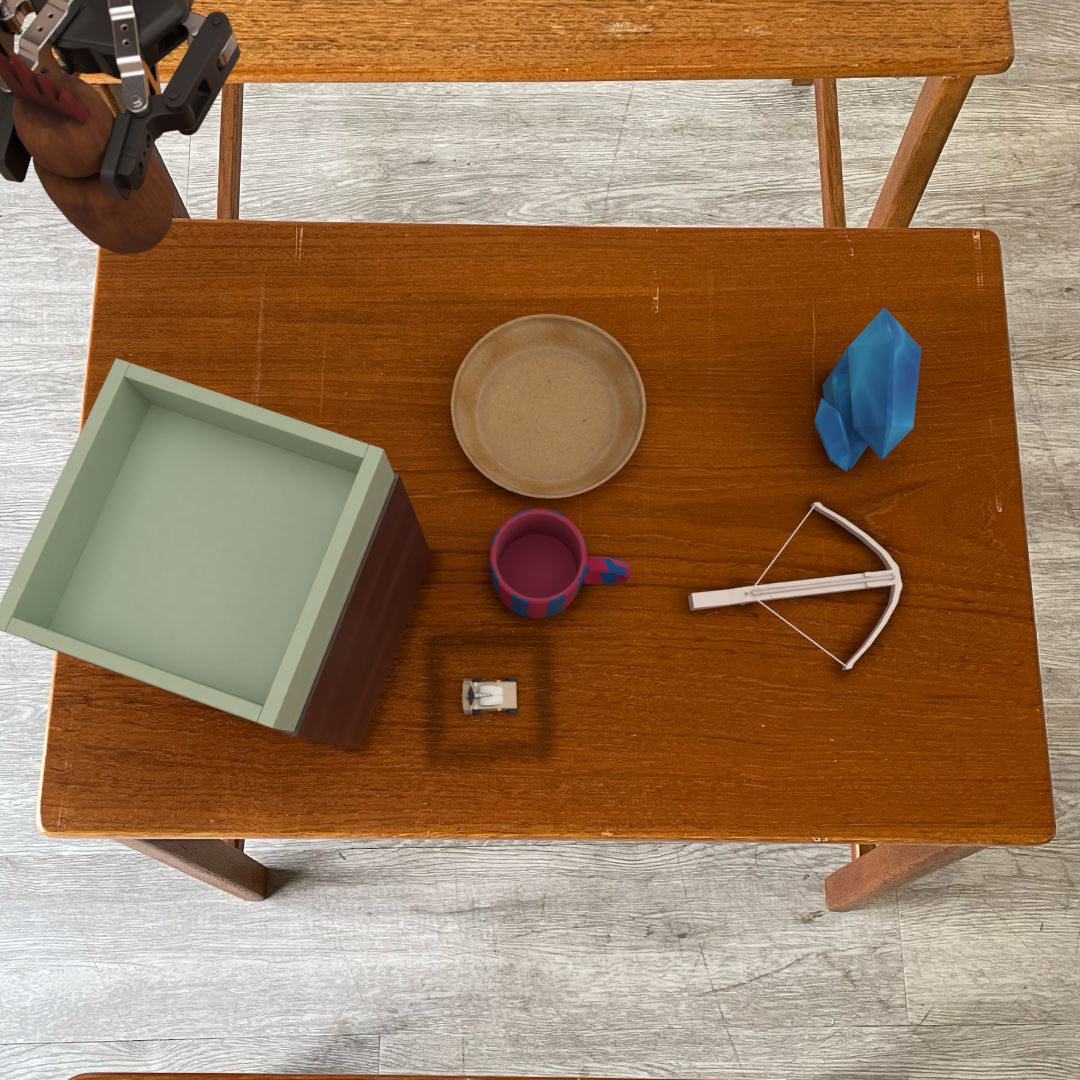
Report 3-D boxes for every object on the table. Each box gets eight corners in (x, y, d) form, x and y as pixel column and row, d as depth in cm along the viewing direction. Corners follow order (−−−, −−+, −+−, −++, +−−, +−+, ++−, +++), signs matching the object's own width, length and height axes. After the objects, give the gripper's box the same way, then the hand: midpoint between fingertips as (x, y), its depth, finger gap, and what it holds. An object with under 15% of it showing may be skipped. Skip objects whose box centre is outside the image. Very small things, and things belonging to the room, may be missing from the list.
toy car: (517, 714, 76) (517, 712, 74) (462, 715, 76) (460, 714, 74) (516, 678, 76) (516, 675, 74) (461, 679, 76) (460, 677, 74)
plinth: (167, 679, 76) (29, 641, 54) (247, 492, 79) (146, 387, 58) (359, 748, 75) (296, 737, 54) (432, 556, 78) (399, 473, 57)
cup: (503, 522, 79) (502, 499, 72) (632, 551, 79) (642, 530, 72) (483, 607, 77) (480, 591, 71) (614, 637, 77) (623, 623, 70)
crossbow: (875, 500, 81) (886, 493, 79) (909, 662, 78) (921, 659, 76) (675, 522, 79) (681, 515, 77) (702, 688, 76) (709, 685, 74)
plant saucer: (432, 352, 82) (429, 338, 79) (611, 308, 83) (614, 293, 80) (479, 528, 79) (478, 519, 76) (665, 479, 80) (670, 470, 77)
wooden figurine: (57, 214, 61) (-86, 39, 47) (133, 154, 62) (16, -36, 47) (131, 291, 60) (9, 137, 46) (208, 228, 61) (112, 58, 47)
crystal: (828, 468, 73) (830, 297, 73) (796, 474, 82) (798, 322, 82) (933, 469, 73) (935, 299, 73) (889, 476, 82) (892, 324, 82)
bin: (34, 639, 54) (-12, 626, 50) (148, 391, 57) (115, 357, 53) (293, 732, 54) (272, 728, 49) (395, 475, 57) (384, 449, 52)
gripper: (-24, -181, 52) (-124, 114, 49) (256, -136, 52) (177, 162, 49) (41, -64, 60) (-42, 200, 56) (287, -25, 60) (220, 242, 56)
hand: (60, 180), depth 52 cm, fingers closed on wooden figurine, 5 cm apart
